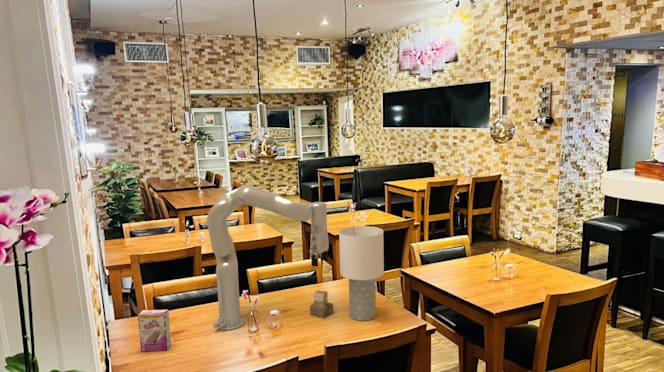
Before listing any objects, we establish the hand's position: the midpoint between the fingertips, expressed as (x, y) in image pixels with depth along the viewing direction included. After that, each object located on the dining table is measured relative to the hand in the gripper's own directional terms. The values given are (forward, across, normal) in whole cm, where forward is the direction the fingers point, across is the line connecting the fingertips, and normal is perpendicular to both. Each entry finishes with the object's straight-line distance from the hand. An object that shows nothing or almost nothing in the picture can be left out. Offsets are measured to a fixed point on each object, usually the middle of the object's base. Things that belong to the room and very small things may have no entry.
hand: (319, 263), depth 214 cm
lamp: (+26, +6, -19) cm, 33 cm away
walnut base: (+26, 0, 0) cm, 26 cm away
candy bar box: (+27, -58, +48) cm, 79 cm away
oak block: (+21, 0, 0) cm, 21 cm away
